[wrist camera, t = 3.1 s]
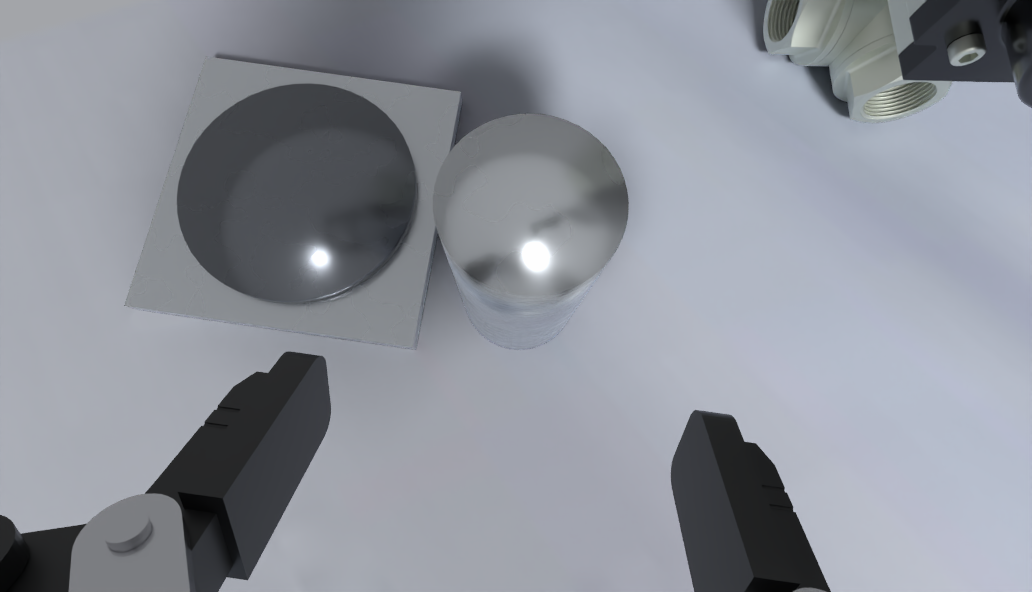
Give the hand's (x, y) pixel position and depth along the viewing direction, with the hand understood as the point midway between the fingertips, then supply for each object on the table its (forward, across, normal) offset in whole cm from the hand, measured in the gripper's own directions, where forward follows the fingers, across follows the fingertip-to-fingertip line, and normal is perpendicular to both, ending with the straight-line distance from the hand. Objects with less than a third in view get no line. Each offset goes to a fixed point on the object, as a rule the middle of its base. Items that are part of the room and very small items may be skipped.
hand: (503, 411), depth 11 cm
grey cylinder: (+11, 0, +4) cm, 11 cm away
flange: (+13, +10, +1) cm, 16 cm away
